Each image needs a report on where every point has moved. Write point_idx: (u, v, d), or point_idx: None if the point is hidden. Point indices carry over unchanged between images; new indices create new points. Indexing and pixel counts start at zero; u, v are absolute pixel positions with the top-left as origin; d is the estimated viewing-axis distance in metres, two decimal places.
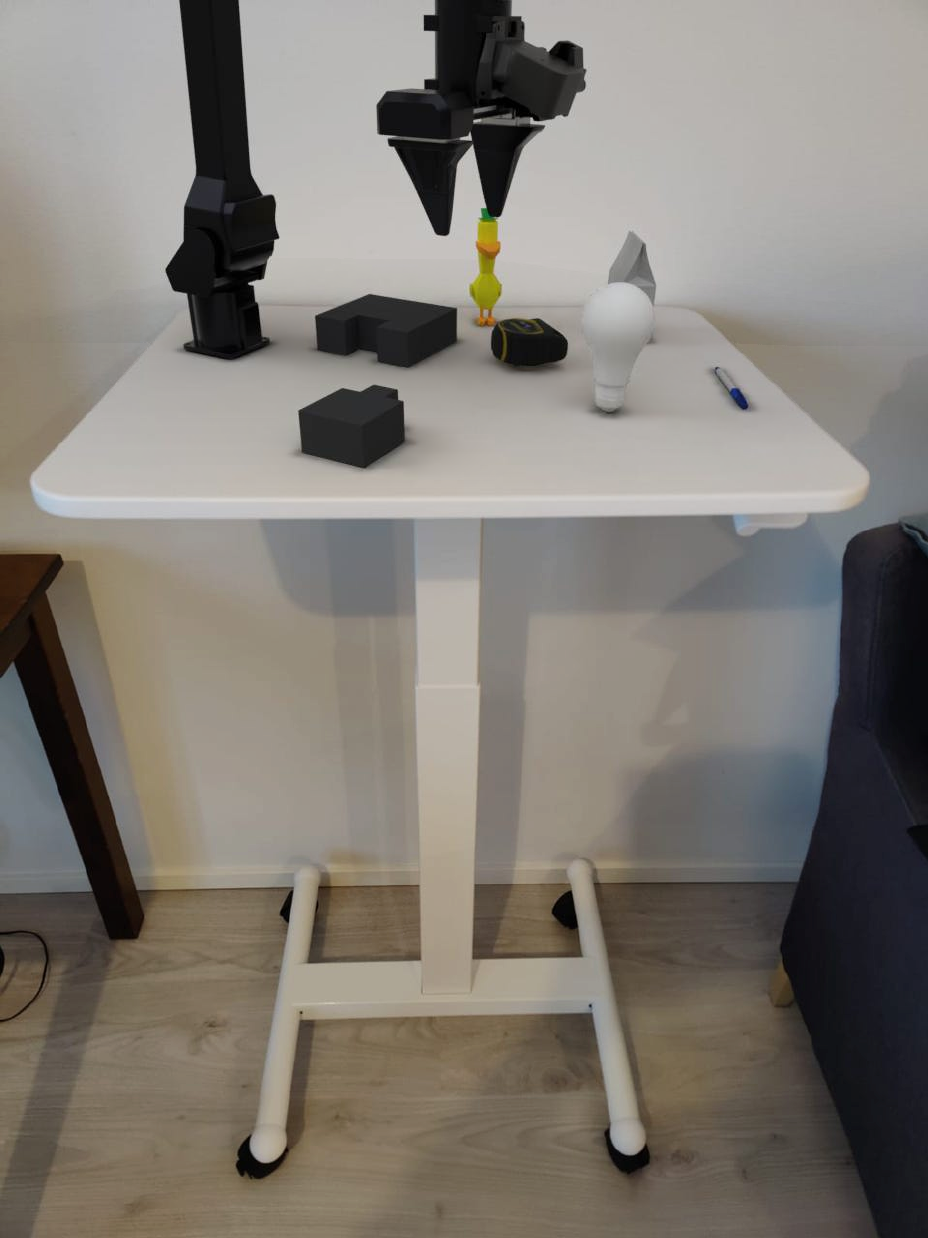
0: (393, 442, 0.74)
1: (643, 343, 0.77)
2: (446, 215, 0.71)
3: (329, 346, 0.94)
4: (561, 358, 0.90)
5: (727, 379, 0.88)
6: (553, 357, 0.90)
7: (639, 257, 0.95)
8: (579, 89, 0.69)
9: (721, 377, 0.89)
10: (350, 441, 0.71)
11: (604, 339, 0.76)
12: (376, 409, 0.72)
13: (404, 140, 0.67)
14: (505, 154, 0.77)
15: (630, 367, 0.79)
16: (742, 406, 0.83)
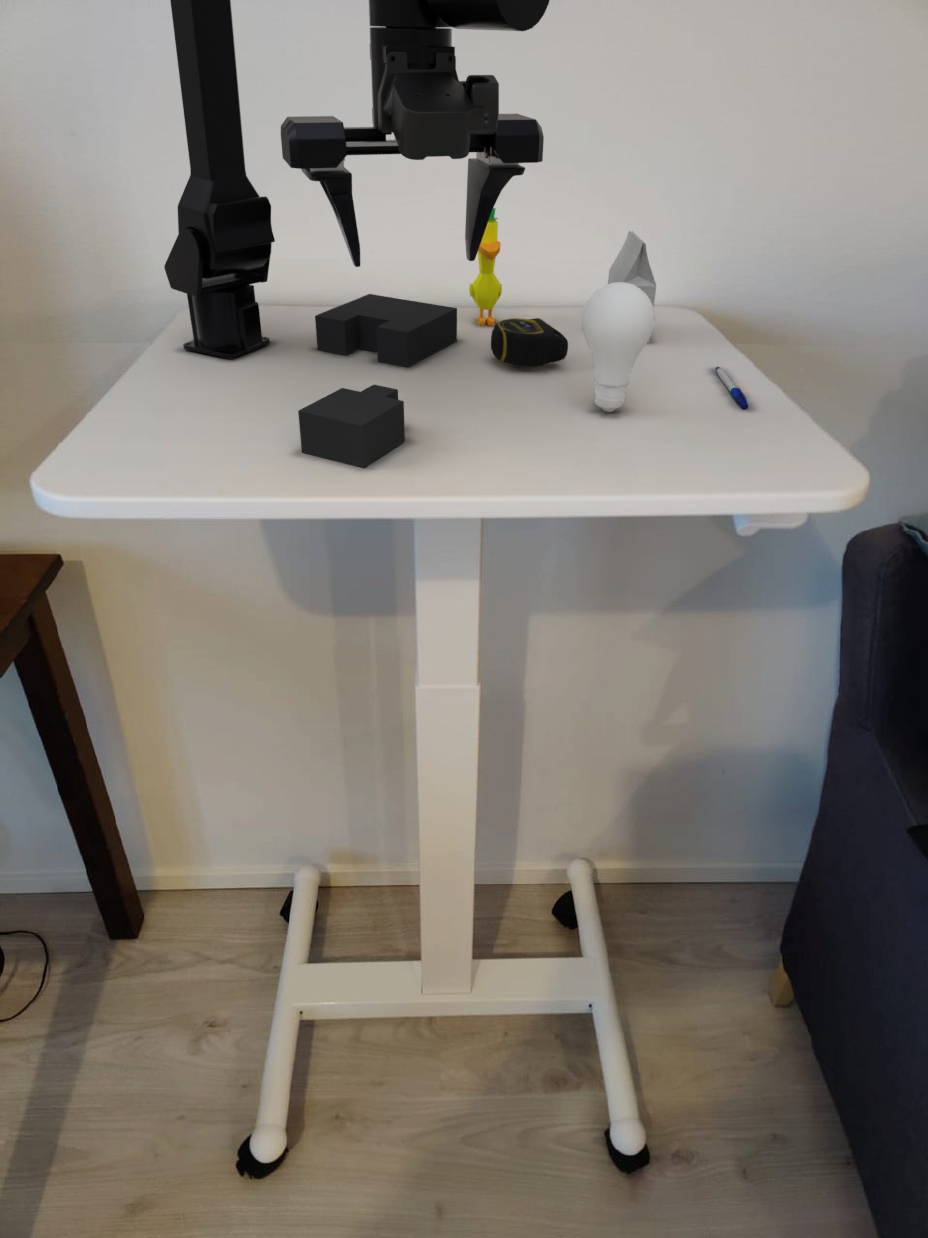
0: (393, 442, 0.74)
1: (643, 343, 0.77)
2: (349, 246, 0.70)
3: (329, 346, 0.94)
4: (561, 358, 0.90)
5: (728, 379, 0.88)
6: (553, 357, 0.90)
7: (639, 257, 0.95)
8: (472, 130, 0.61)
9: (722, 377, 0.89)
10: (350, 441, 0.71)
11: (604, 339, 0.76)
12: (376, 409, 0.72)
13: None
14: (477, 194, 0.71)
15: (630, 367, 0.79)
16: (742, 405, 0.83)
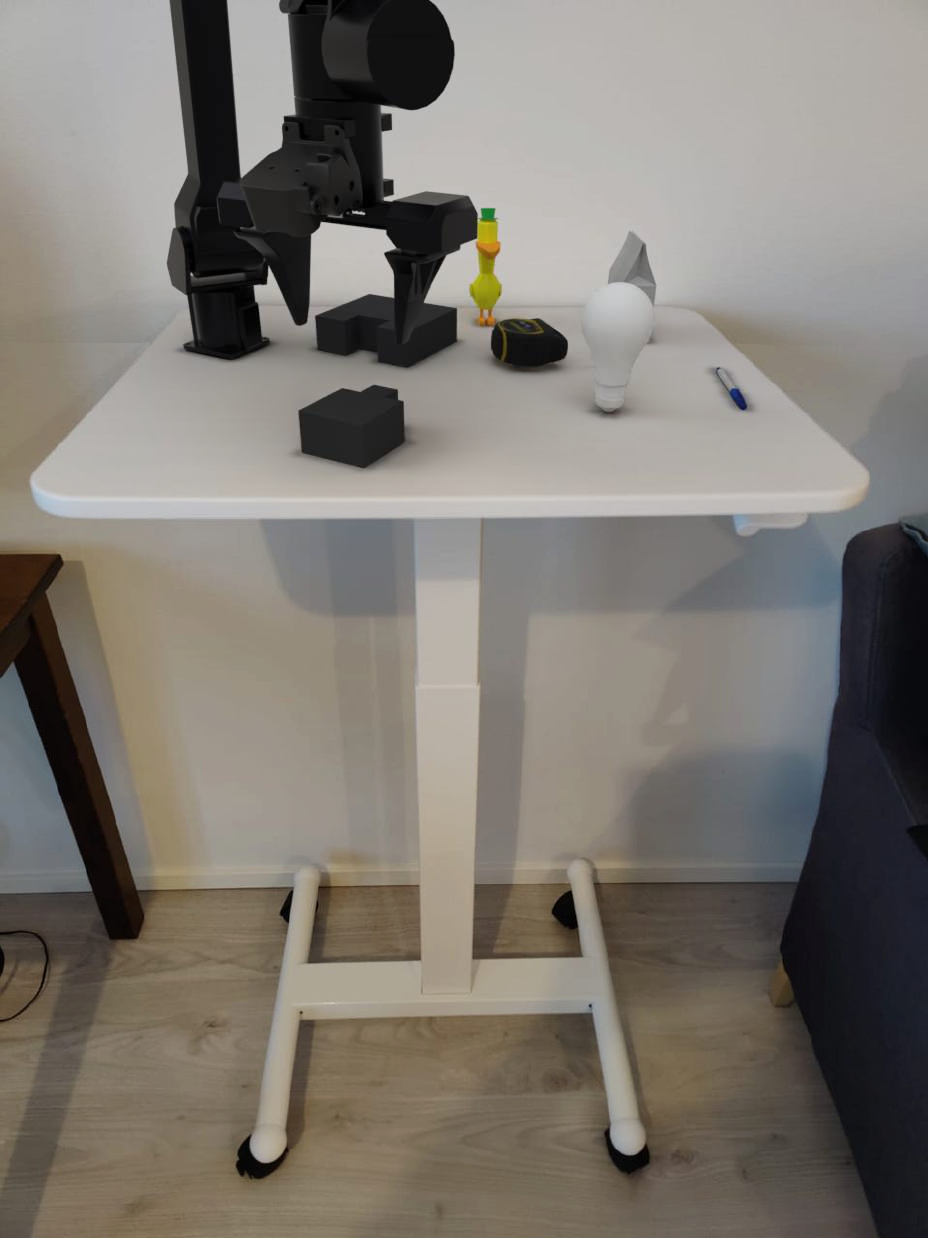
0: (393, 442, 0.74)
1: (643, 343, 0.77)
2: (287, 304, 0.70)
3: (329, 346, 0.94)
4: (561, 358, 0.90)
5: (727, 379, 0.88)
6: (553, 357, 0.90)
7: (639, 257, 0.95)
8: (299, 209, 0.57)
9: (722, 377, 0.89)
10: (350, 441, 0.71)
11: (604, 339, 0.76)
12: (376, 409, 0.72)
13: None
14: None
15: (630, 367, 0.79)
16: (741, 406, 0.83)
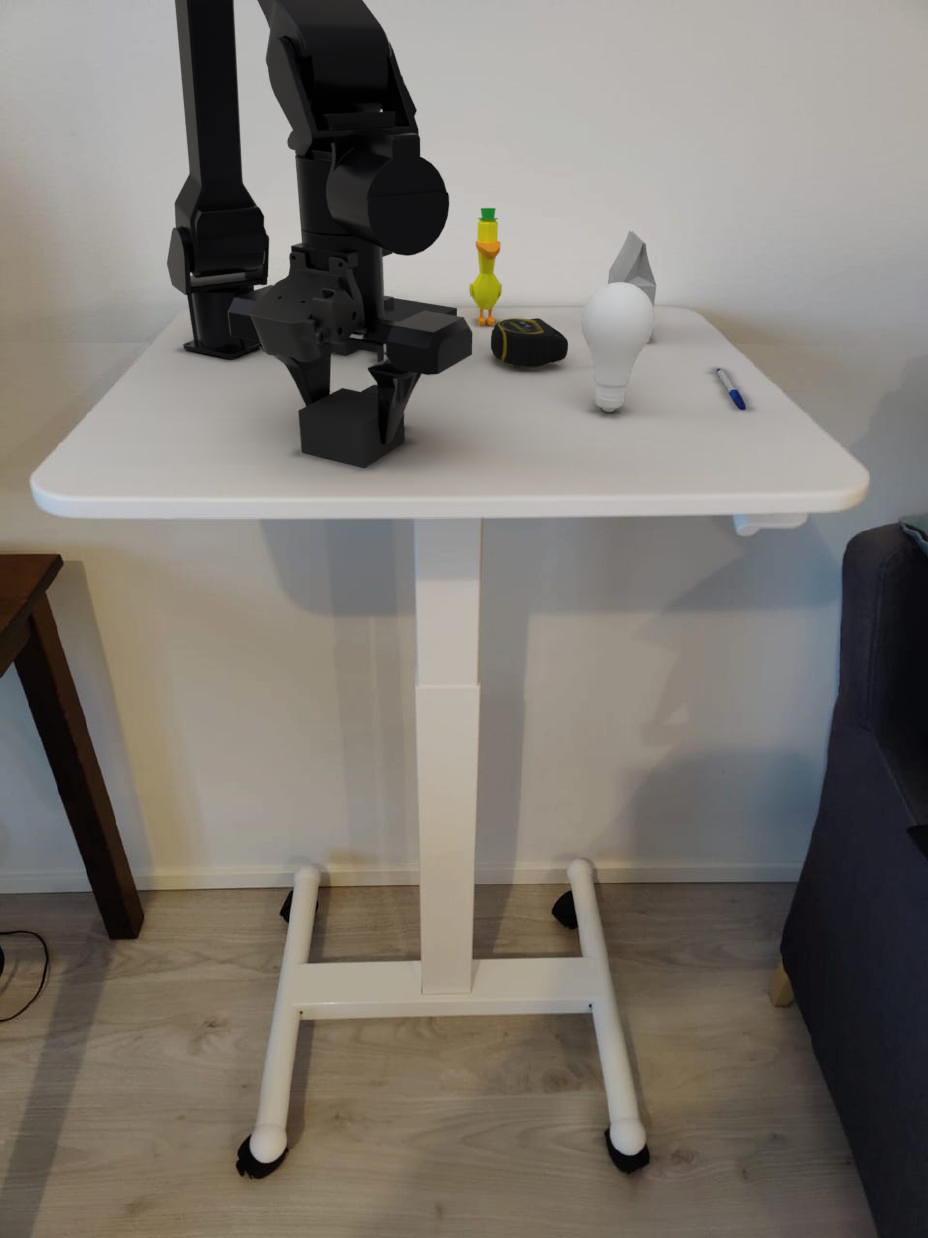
0: (393, 442, 0.74)
1: (643, 343, 0.77)
2: None
3: None
4: (561, 358, 0.90)
5: (727, 380, 0.88)
6: (553, 357, 0.90)
7: (639, 257, 0.95)
8: (305, 339, 0.62)
9: (722, 378, 0.89)
10: (350, 441, 0.71)
11: (604, 339, 0.76)
12: (376, 409, 0.72)
13: None
14: None
15: (630, 367, 0.79)
16: (739, 407, 0.83)
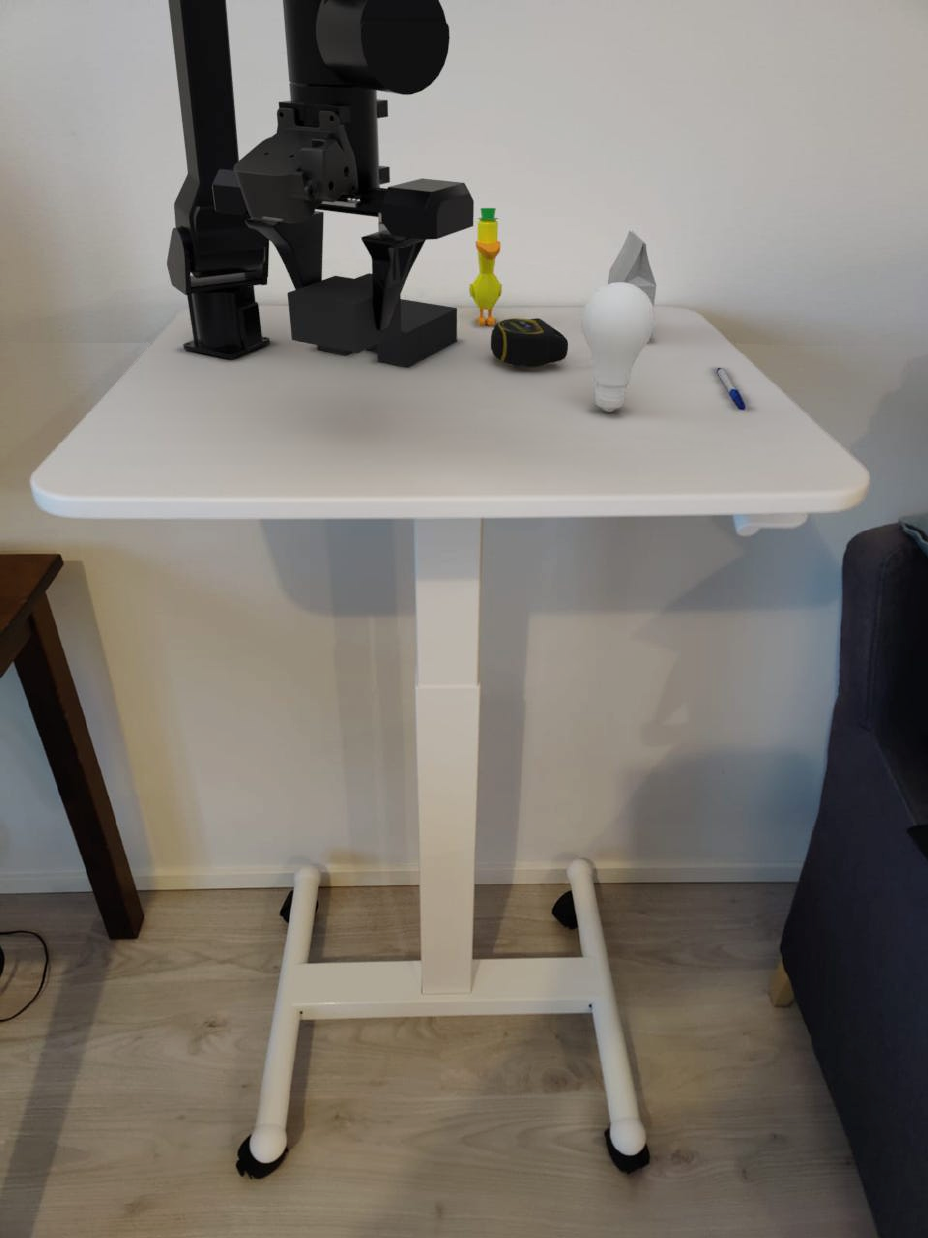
0: (389, 330, 0.69)
1: (643, 343, 0.77)
2: None
3: None
4: (561, 358, 0.90)
5: (727, 380, 0.88)
6: (553, 357, 0.90)
7: (639, 257, 0.95)
8: (293, 195, 0.57)
9: (722, 378, 0.89)
10: (343, 323, 0.66)
11: (604, 339, 0.76)
12: (371, 291, 0.67)
13: None
14: None
15: (630, 367, 0.79)
16: (739, 407, 0.83)
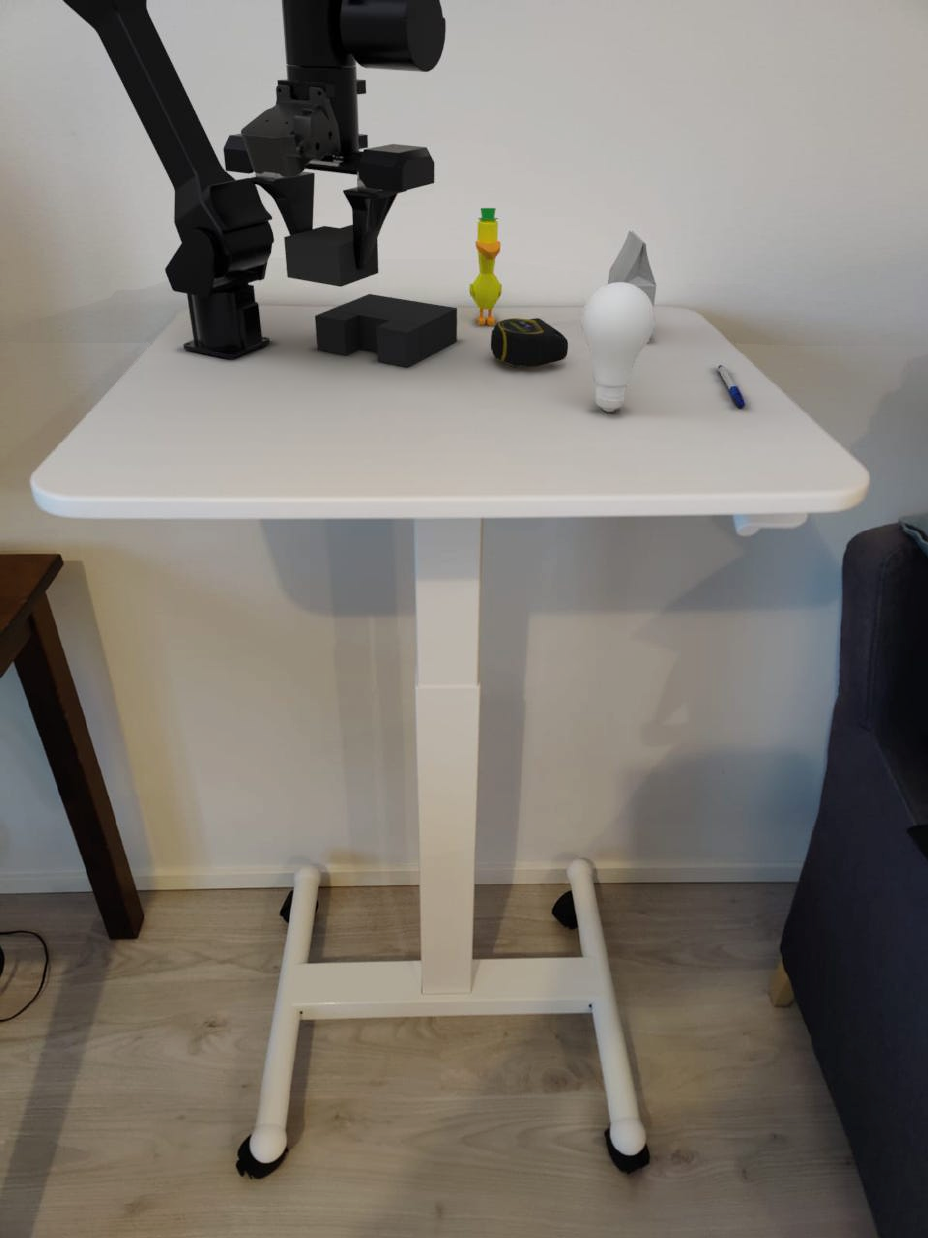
0: (367, 270, 0.84)
1: (643, 343, 0.77)
2: None
3: (329, 346, 0.94)
4: (561, 358, 0.90)
5: (728, 377, 0.88)
6: (553, 357, 0.90)
7: (639, 257, 0.95)
8: (288, 153, 0.72)
9: (723, 375, 0.89)
10: (329, 261, 0.81)
11: (604, 339, 0.76)
12: (352, 237, 0.82)
13: None
14: None
15: (630, 367, 0.79)
16: (738, 404, 0.83)
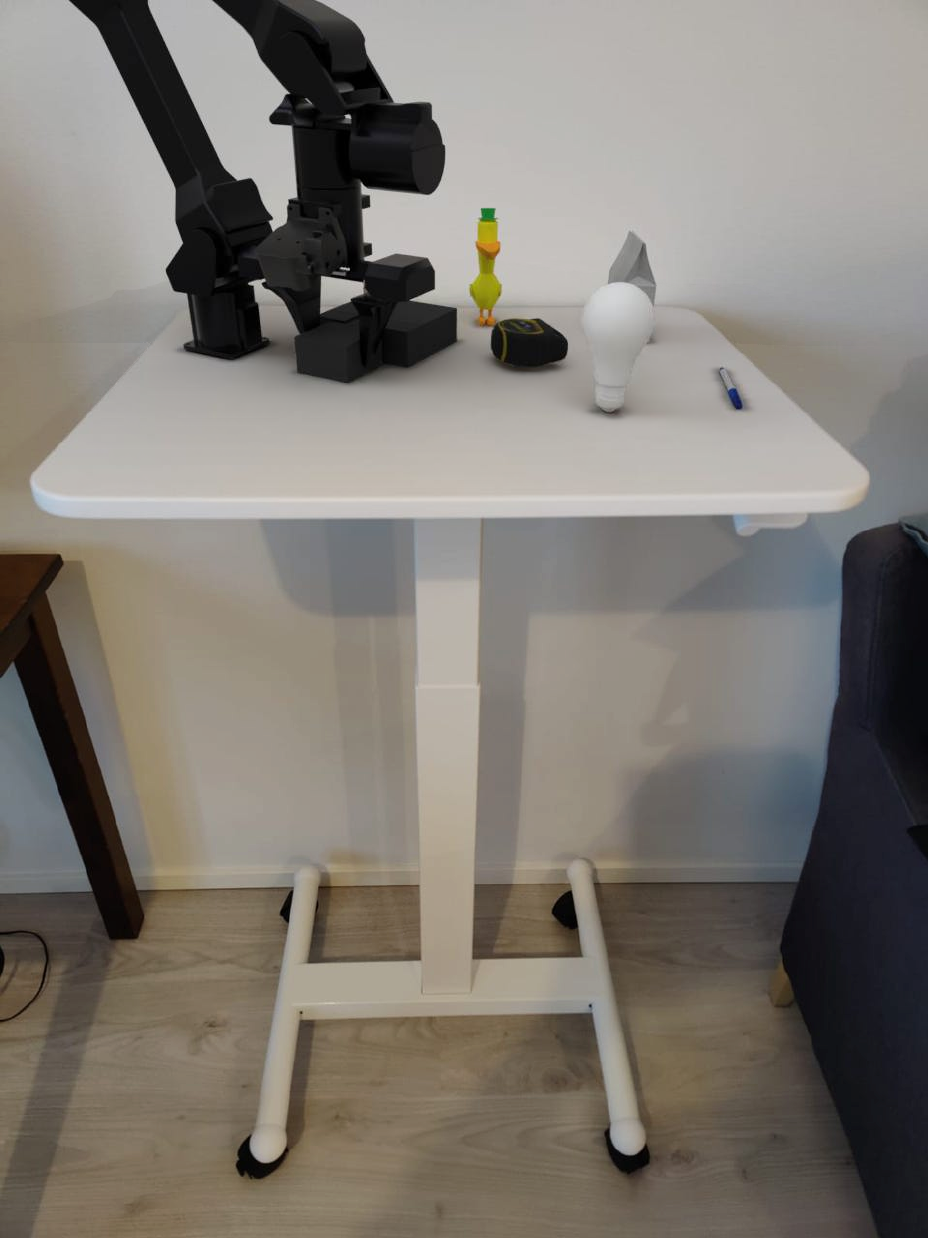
0: (372, 364, 0.90)
1: (643, 343, 0.77)
2: None
3: None
4: (561, 358, 0.90)
5: (728, 379, 0.88)
6: (553, 357, 0.90)
7: (639, 257, 0.95)
8: (299, 271, 0.78)
9: (723, 377, 0.89)
10: (337, 360, 0.86)
11: (604, 339, 0.76)
12: (358, 335, 0.88)
13: None
14: None
15: (630, 367, 0.79)
16: (736, 406, 0.83)
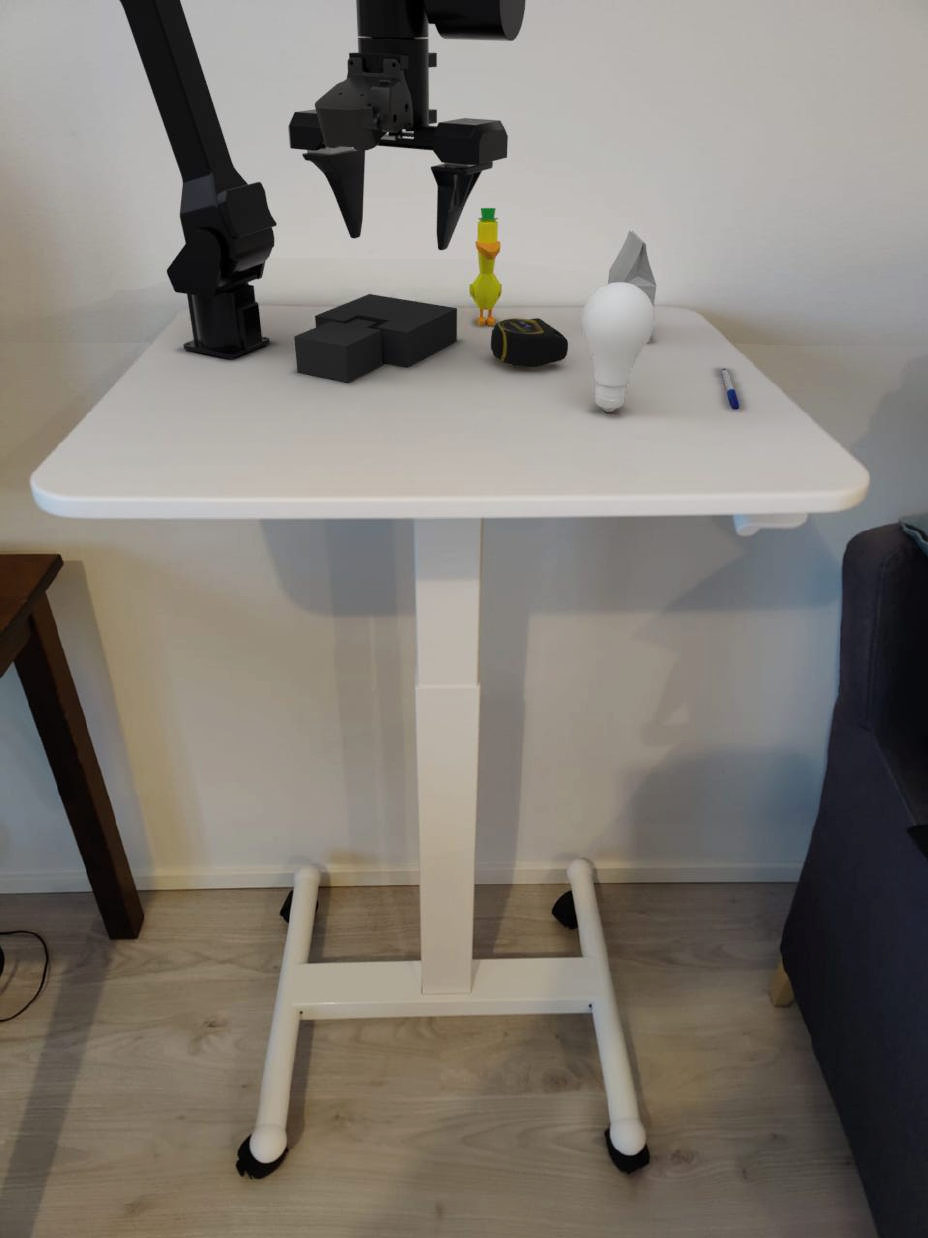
0: (372, 364, 0.90)
1: (643, 343, 0.77)
2: (344, 219, 0.83)
3: None
4: (561, 358, 0.90)
5: (728, 380, 0.88)
6: (553, 357, 0.90)
7: (639, 257, 0.95)
8: (364, 126, 0.70)
9: (724, 378, 0.89)
10: (337, 360, 0.86)
11: (604, 339, 0.76)
12: (358, 335, 0.88)
13: None
14: None
15: (630, 367, 0.79)
16: (733, 407, 0.83)
